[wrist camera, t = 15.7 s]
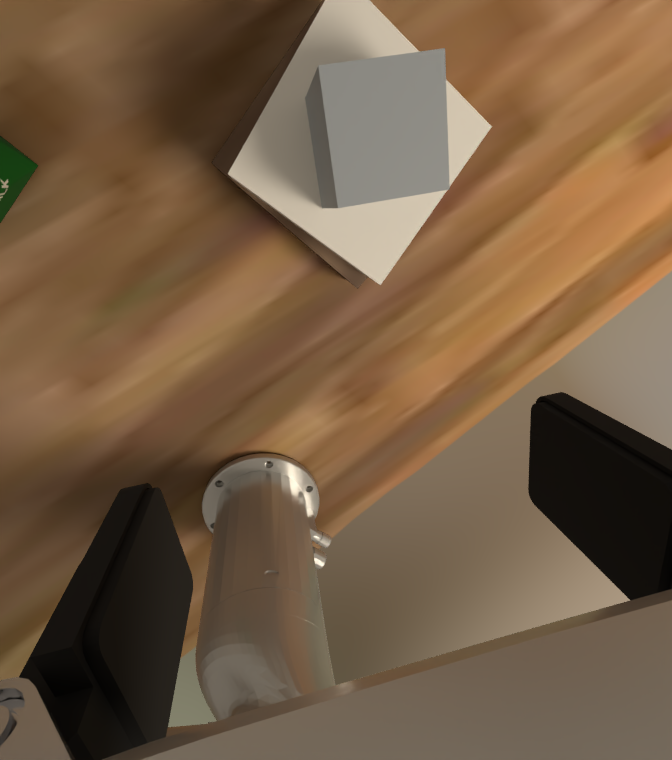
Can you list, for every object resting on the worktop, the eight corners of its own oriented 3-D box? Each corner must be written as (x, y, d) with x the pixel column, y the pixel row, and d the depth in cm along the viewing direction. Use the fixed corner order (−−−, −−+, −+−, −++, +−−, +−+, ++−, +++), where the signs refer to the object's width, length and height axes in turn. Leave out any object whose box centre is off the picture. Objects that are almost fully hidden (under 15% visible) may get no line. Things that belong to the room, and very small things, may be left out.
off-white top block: (457, 138, 31) (491, 126, 26) (364, 274, 33) (380, 285, 29) (327, 11, 26) (341, -29, 22) (232, 179, 29) (227, 173, 25)
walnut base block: (449, 151, 36) (477, 143, 31) (346, 279, 38) (357, 288, 34) (327, 9, 30) (339, -25, 26) (218, 168, 33) (211, 162, 29)
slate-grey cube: (403, 84, 24) (444, 48, 19) (411, 193, 27) (449, 189, 21) (305, 98, 24) (318, 65, 18) (321, 208, 26) (337, 208, 21)
